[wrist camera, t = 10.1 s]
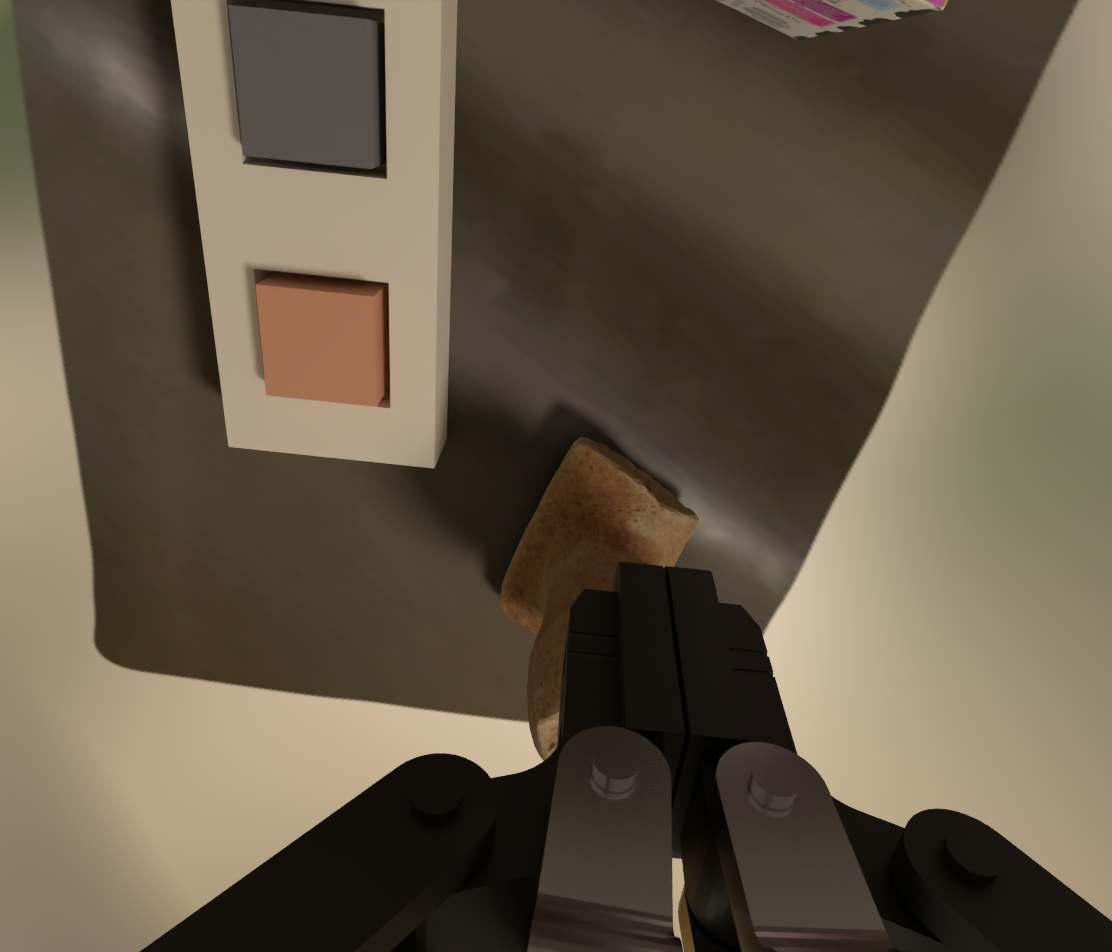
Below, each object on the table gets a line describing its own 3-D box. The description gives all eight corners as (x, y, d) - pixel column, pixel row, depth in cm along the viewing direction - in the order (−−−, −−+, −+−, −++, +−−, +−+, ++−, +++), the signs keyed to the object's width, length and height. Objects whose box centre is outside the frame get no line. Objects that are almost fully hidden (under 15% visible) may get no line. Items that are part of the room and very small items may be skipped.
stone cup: (632, 658, 54) (643, 844, 41) (482, 597, 52) (443, 772, 39) (744, 497, 48) (800, 657, 34) (577, 420, 46) (568, 559, 32)
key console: (201, -94, 34) (156, -114, 31) (459, -68, 34) (442, -85, 31) (256, 419, 47) (228, 446, 43) (446, 439, 47) (434, 468, 43)
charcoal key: (256, 10, 35) (228, 4, 32) (385, 23, 35) (367, 19, 32) (268, 150, 37) (243, 155, 35) (387, 162, 37) (370, 168, 35)
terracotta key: (278, 271, 40) (255, 284, 38) (388, 282, 40) (373, 296, 38) (286, 375, 43) (266, 394, 40) (390, 386, 43) (376, 406, 40)
